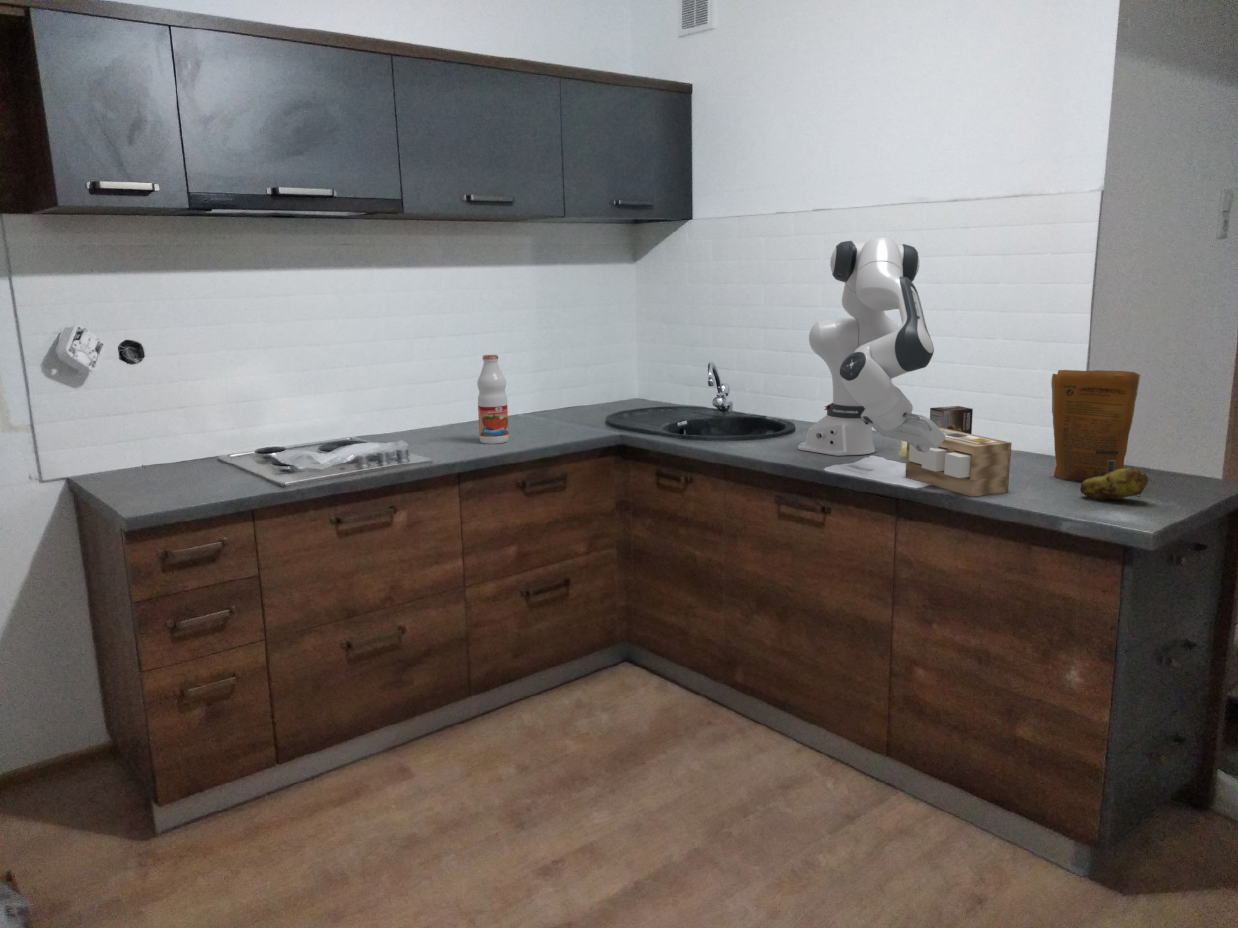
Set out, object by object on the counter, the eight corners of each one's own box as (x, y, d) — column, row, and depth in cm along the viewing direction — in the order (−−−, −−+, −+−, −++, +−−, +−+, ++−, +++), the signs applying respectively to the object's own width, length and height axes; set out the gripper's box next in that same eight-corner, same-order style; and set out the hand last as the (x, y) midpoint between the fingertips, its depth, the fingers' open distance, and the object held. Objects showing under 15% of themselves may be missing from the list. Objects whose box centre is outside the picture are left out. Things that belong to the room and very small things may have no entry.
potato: (1093, 492, 216) (1096, 459, 215) (1150, 502, 206) (1154, 468, 205) (1075, 498, 211) (1078, 464, 210) (1133, 508, 201) (1137, 473, 200)
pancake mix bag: (1125, 489, 219) (1137, 372, 213) (1042, 478, 231) (1051, 368, 225) (1133, 484, 223) (1144, 370, 218) (1051, 474, 236) (1060, 366, 230)
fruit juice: (503, 438, 303) (499, 353, 297) (513, 442, 295) (509, 355, 289) (476, 440, 299) (471, 355, 293) (485, 445, 290) (480, 357, 285)
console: (972, 496, 214) (975, 444, 212) (905, 476, 236) (907, 429, 234) (1008, 492, 218) (1011, 440, 216) (938, 472, 240) (941, 425, 237)
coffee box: (955, 463, 251) (959, 405, 248) (970, 467, 245) (974, 408, 242) (926, 465, 249) (929, 407, 246) (940, 470, 243) (944, 410, 240)
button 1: (921, 464, 229) (922, 444, 228) (908, 460, 234) (909, 441, 233) (950, 461, 232) (951, 441, 231) (937, 457, 237) (938, 438, 236)
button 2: (959, 478, 214) (960, 457, 213) (944, 474, 218) (945, 453, 217) (989, 474, 217) (990, 453, 216) (973, 470, 221) (975, 450, 220)
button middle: (935, 471, 221) (936, 451, 220) (921, 467, 225) (922, 447, 224) (964, 468, 224) (966, 448, 223) (950, 464, 229) (951, 444, 228)
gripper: (931, 406, 197) (964, 447, 202) (872, 395, 216) (904, 433, 221) (913, 428, 196) (947, 468, 202) (855, 415, 215) (888, 452, 220)
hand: (924, 450), depth 212 cm, fingers closed
